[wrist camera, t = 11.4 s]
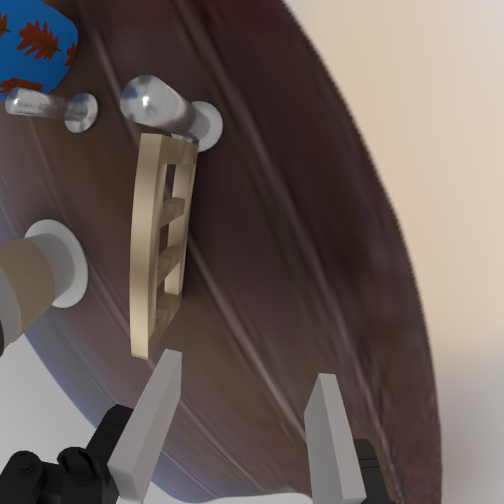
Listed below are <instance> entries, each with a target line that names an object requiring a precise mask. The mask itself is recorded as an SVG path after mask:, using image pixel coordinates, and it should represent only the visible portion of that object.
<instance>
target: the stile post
mask: <svg viewBox="0 0 504 504" xmlns="http://www.w3.org/2000/svg"><path fill="white" fill-rule="evenodd" d="M5 108H6V111H7V112H8V113H10V114H19V115H28V116H36V117H44V118H52V119H59V120H65V124H66V126H67V128H68V129H69V130H70V131H72V132H76V133H83V132H86V131H88V130H89V129H90V128H92V127H93V125H94V124H95V123H96V121H97V119H98V116H99V111H100V106H99V102H98V100H97V98H96V97H95V96H94V95H92V94H89V93H80V94H78V95H76V96H74V97H73V98H72V99H68V98H64V97H60V96H56V95H52V94H48V93H44V92H39V91H35V90H30V89H26V88H21V87H15V88H13V89H12V90H11V91H10V92H9V94H8V96H7V98H6V103H5Z"/></svg>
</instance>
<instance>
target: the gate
mask: <svg viewBox="0 0 504 504" xmlns="http://www.w3.org/2000/svg"><path fill="white" fill-rule="evenodd" d="M198 148H199V145H196V144H193V143H190V142H186V141H183V140H179V139H176V138H173V137H169V136H165V135H162V134H146V133H142V134H141V141H140V148H139V156H138V164H137V172H136V181H135V191H134V203H133V216H132V231H131V253H130V328H131V349H132V356H135V357H139V358H142V359H146V360H148V359H149V358H150V356H151V354H152V353H153V351H154V349H155V347H156V346H157V344H158V342H159V341H160V339H161V337H162V335H163V334H164V332H165V330H166V329H167V327H168V325H169V324H170V322H171V320H172V319H173V317H174V315H175V314H176V312H177V310H178V309H179V307H180V305H181V303H182V289H183V276H184V265H185V254H186V244H187V234H188V225H189V216H190V207H191V199H192V191H193V184H194V176H195V169H196V162H197V155H198ZM167 164H176V170H175V178H174V186H173V194H172V198H170V199H167V200H164V201H163V195H164V186H165V178H166V170H167ZM168 223H169V234H168V246H167V248H166V249H165V250H164V251H163V252H162V253H160V254H159V255H158V252H159V238H160V228H161V227H163V226H165V225H166V224H168ZM164 279H165V292H164V294H163V295H162V296H161V297H160V299H159V300H158V301H157V303H156V290H157V287H158V286H159V285H160V284H161V283H162V281H163V280H164Z"/></svg>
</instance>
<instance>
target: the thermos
mask: <svg viewBox="0 0 504 504" xmlns="http://www.w3.org/2000/svg"><path fill="white" fill-rule="evenodd" d="M77 46H78V30H77V28H76V27H75V25H74V23H73V22H72V21H71V20H69V19H68V18H67V17H65V16H64V15H63V14H61V13H60V12H58V11H57V10H56V9H54V8H52V7H51V6H49V5H47V4H45V3H44V2H42V1H40V0H0V99H2V100H6V98H7V96H8V94H9V92H10V91H11V90H12V89H13V88H15V87H21V88H26V89H30V90H35V91H39V92H44V93H48V94H49V93H50V92H51V91H52V90H53V89H55V88H56V87H57V85H58V84H59V83H60V81H61V80H62V79H63V78H64V76H65V75H66V74H67V72H68V70H69V68H70V66H71V64H72V62H73V60H74V58H75V54H76V50H77Z"/></svg>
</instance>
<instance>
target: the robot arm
mask: <svg viewBox="0 0 504 504" xmlns="http://www.w3.org/2000/svg"><path fill="white" fill-rule="evenodd" d="M181 366H182V352H178V351H173V350H169V349H165V351H164V353H163V355H162V357H161V359H160V360H159V362H158V364H157V366H156V368H155V370H154V372H153V374H152V376H151V378H150V380H149V382H148V383H147V385H146V387H145V389H144V391H143V393H142V395H141V397H140V399H139V401H138V403H137V405H136V407H135V409H132V408H128V407H125V406H122V405H119V404H116V405H115V406H114V407H112V408H111V409H109V410H108V411H107V412H106V414H105V416H104V418H103V419H102V422H101V423H100V424H99V426H98V429H97V430H96V431H95V433H94V435H93V436H92V438H91V440H90V442H89V443H88V445H87V447H86V449H84V448H81V447H69V448H66V449H64V450H63V451H62V452H60V453H59V455H58V457H57V461H58V463H59V464H53V463H48V462H43V461H41V460H40V459H39V457H38V456H37V455H35V454H34V453H33V452H29V451H18V452H16V453H14V454H13V455H12V456H11V458H10V460H9V461H8V463H7V464H6V466H5V468H4V469H3V471H2V473H1V475H0V504H116V501H117V499H118V496H120V498H121V500H122V501H125V502H128V503H131V504H143V501H144V498H145V495H146V492H147V489H148V486H149V484H150V481H151V478H152V475H153V472H154V469H155V466H156V463H157V461H158V458H159V455H160V452H161V449H162V446H163V443H164V441H165V438H166V435H167V432H168V429H169V426H170V424H171V421H172V418H173V415H174V412H175V410H176V407H177V404H178V401H179V398H180V395H181ZM304 420H305V429H306V438H307V447H308V456H309V466H310V476H311V486H312V497H313V504H396V503H395V502H394V501H392V500H390V498H389V496H388V493H387V490H386V486H385V483H384V479H383V476H382V472H381V469H380V468H379V466H380V465H379V462H378V460H377V456H376V452H375V449H374V447H373V446H372V445H371V443H370V442H369V441H368V440H367V439H352V435H351V431H350V427H349V424H348V420H347V416H346V412H345V409H344V405H343V401H342V398H341V394H340V390H339V387H338V383H337V380H336V376H335V374H323V373H319V375H318V377H317V380H316V383H315V386H314V389H313V391H312V394H311V397H310V399H309V402H308V404H307V407H306V410H305V412H304Z"/></svg>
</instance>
